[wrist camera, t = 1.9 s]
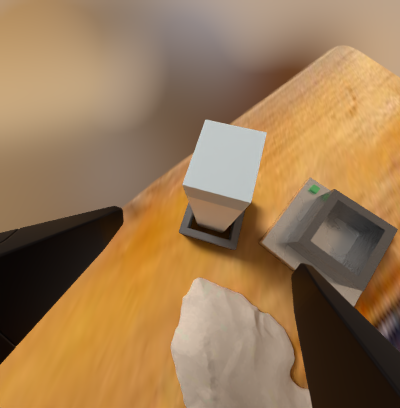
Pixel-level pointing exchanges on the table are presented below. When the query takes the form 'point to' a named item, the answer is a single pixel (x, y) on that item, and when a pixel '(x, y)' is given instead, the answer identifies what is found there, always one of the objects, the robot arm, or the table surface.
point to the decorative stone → (232, 353)
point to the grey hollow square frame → (229, 243)
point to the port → (330, 238)
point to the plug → (223, 173)
